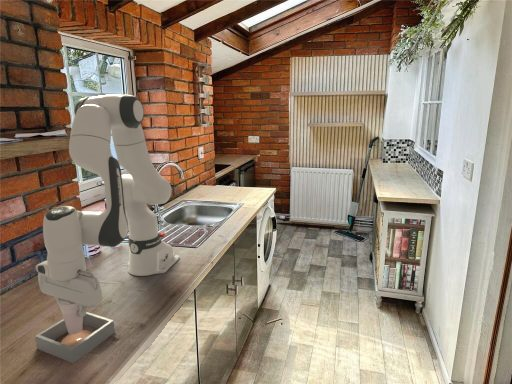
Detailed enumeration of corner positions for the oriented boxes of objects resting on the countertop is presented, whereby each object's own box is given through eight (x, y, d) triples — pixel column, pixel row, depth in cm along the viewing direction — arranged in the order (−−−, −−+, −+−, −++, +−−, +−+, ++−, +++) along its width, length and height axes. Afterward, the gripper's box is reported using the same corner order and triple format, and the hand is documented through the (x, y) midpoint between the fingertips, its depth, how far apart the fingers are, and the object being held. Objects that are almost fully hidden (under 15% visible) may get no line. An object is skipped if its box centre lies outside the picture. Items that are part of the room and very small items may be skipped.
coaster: (79, 328, 104) (79, 327, 104) (99, 335, 101) (98, 334, 101) (54, 345, 97) (54, 343, 96) (75, 353, 93) (75, 351, 93)
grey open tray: (80, 320, 108) (79, 309, 107) (114, 332, 102) (113, 320, 101) (37, 348, 95) (35, 336, 94) (73, 363, 90) (71, 350, 89)
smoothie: (91, 323, 101) (86, 279, 98) (81, 337, 95) (75, 290, 91) (69, 323, 101) (63, 279, 97) (57, 337, 94) (51, 291, 91)
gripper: (105, 269, 92) (110, 315, 95) (52, 256, 100) (58, 299, 103) (85, 279, 86) (91, 328, 90) (31, 264, 94) (38, 310, 98)
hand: (73, 312), depth 97 cm, fingers closed on smoothie, 5 cm apart
